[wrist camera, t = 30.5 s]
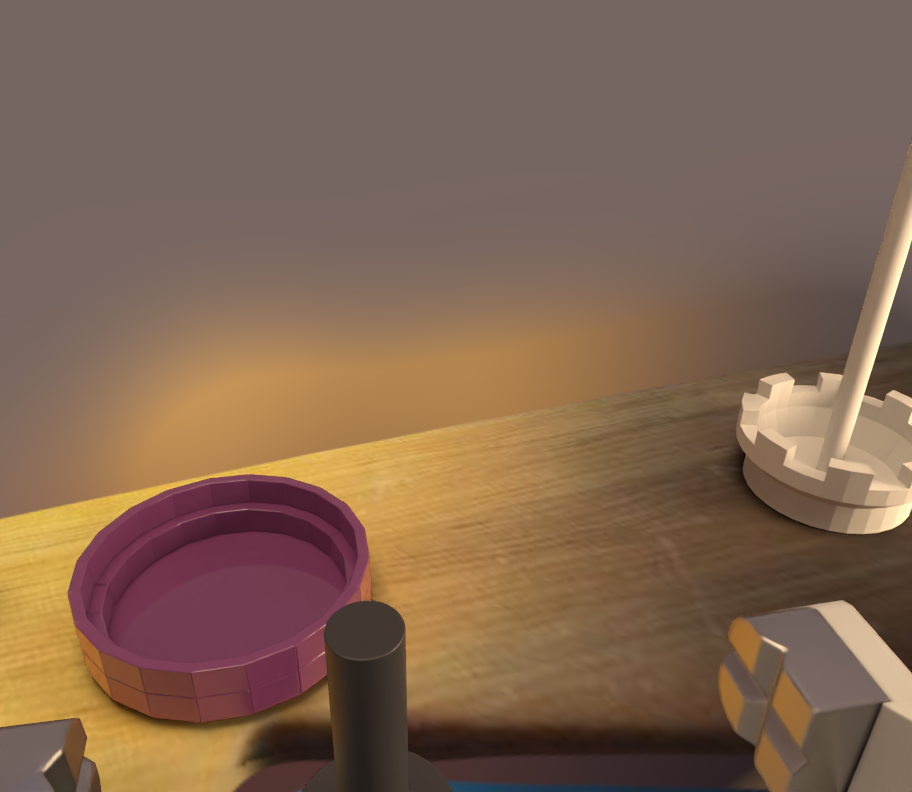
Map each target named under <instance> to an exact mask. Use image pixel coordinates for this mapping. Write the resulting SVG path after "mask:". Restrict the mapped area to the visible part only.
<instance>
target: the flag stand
mask: <svg viewBox="0 0 912 792" xmlns="http://www.w3.org/2000/svg"><path fill="white" fill-rule="evenodd" d="M911 240H912V139H911V143H910V146H909V150H908V153H907V157H906V160H905V163H904V167H903V170H902V174H901V177H900V181H899V184H898V187H897V191H896V194H895V198H894V201H893V205H892V208H891V211H890V215H889V218H888V222H887V225H886V229H885V232H884V236H883V239H882V243H881V246H880V250H879V253H878V256H877V260H876V263H875V267H874V270H873V274H872V277H871V280H870V284H869V287H868V291H867V294H866V298H865V301H864V305H863V308H862V312H861V315H860V318H859V322H858V325H857V329H856V332H855V336H854V339H853V343H852V346H851V350H850V353H849V356H848V360H847V363H846V367H845V370H844V374H843V375H838V374H830V373H821V372H820V373H819V377H818V380H817V384H816V386H804V385H796V386H793V384H794V380H795V379H793V378H792V377H791V376H789V375H788V374H787V373H782V374H777V375H772V376H769V377H766V378H763V379H760V381H759V385H758V389H757V394H755V395H752V394H749V393H744V396H743V399H742V403H741V408H740V412H739V417H738V421H737V426H736V436H737V440H738V442H739V444H740V446H741V448H742V450H743V451H744V452H745V454H746V456H745V460H744V464H743V474H744V478H745V480H746V482H747V484H748V486H749V487H750V488H751V490H752V491H753V492H754V493H755V495H757V496H758V497H759V498H760V499H761V500H762V501H763V502H764V503H766V504H767V505H769V506H770V507H772V508H773V509H775V510H776V511H778V512H779V513H781V514H783V515H785V516H787V517H789V518H791V519H793V520H796V521H799V522H801V523H804V524H807V525H809V526H812V527H816V528H820V529H824V530H828V531H834V532H840V533H847V534H869V533H879V532H883V531H886V530H890V529H893V528H894V527H896V526H898V525H900V524H902V523H903V522H904V521H905V520H906V519H907V518H908V516H909V513H910V511H911V508H912V398H910V397H908V396H906V395H903V394H901V393H899V392H897V391H895V390H893V391H891V392H890V393H888V394H886V397H885V400H884V402H883V401H880V400H878V399H875V398H872V397H869V396H865V395H864V393H865V390H866V386H867V383H868V380H869V377H870V373H871V370H872V367H873V364H874V360H875V357H876V354H877V351H878V347H879V344H880V341H881V338H882V334H883V331H884V328H885V324H886V322H887V318H888V315H889V312H890V309H891V305H892V302H893V299H894V296H895V292H896V289H897V286H898V283H899V279H900V276H901V273H902V270H903V266H904V263H905V259H906V257H907V253H908V250H909V247H910V244H911Z"/></svg>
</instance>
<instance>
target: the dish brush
mask: <svg viewBox="0 0 912 792" xmlns="http://www.w3.org/2000/svg"><path fill="white" fill-rule="evenodd" d="M324 645H325V656H326V667H327V679H328V690H329V701H330V712H331V723H332V734H333V746H334V757H335V759H334V760H332V761H330V762H329V763H327V764H326V765H325V766H324V767H322V768H321V769H320V770H319V771H318V772H317V773H316V774H315V775H314V776H313V777H312V778H311V779H310V780H309V781H308V783H307V784H306V785H305V787H304V788H303V790H302V792H453V791H452V789H451V787H450V785H449V784H448V782H447V780H446V779H445V777H444V776H443V775H442V774H441V773H440V771H439V770H438V769H437V768H436V767H434V766H433V765H432V764H431V763H430V762H428V761H427V760H425V759H424V758H422V757H420V756H418V755H417V754H415V753H412V752H409V751H408V737H407V687H406V637H405V623H404V620H403V618H402V617H401V615H400V614H399V613H398V612H397V611H396V610H395V609H394V608H392V607H391V606H389V605H387V604H384V603H381V602H377V601H358V602H354V603H350V604H348V605H345V606H343V607H341V608H340V609H338V610H337V611H336V612H334V613H333V614H332V615H331V617H330V618H329V619H328V621H327V623H326V625H325V628H324Z"/></svg>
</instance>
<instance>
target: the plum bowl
mask: <svg viewBox="0 0 912 792" xmlns="http://www.w3.org/2000/svg"><path fill="white" fill-rule="evenodd" d="M68 599H69V603H70V608H71V612H72V617H73V621H74V625H75V629H76V632H77V635H78V639H79V642H80V645H81V648H82V652H83V655H84V659H85V662H86V665H87V669H88V672H89V674H90V675H91V676H92V677H93V678H94V679H95V680H96V681H97V683H98V684H99V685H100V686H101V687H102V688H103V689H104V690H105V692H106V693H107V694H108V695H109V696H110V697H111V698H112V699H114V700H115V701H117V702H119V703H121V704H124V705H126V706H128V707H130V708H132V709H135V710H137V711H139V712H141V713H143V714H146V715H148V716H150V717H153V718H161V719H171V720H180V721H189V722H199V723H200V722H208V721H215V720H221V719H228V718H234V717H240V716H247V715H252V714H253V713H254V714H255V713H257V712H260V711H262V710H265V709H267V708H269V707H272V706H274V705H277V704H279V703H281V702H284V701H286V700H289V699H291V698H294V697H296V696H298V695H300V694H302V693H304V692H305V691H306V690H308V689H309V688H310V687H312V686H313V685H314V684H316V683H317V682H318V681H320V680H321V679H322V678H324V677H325V676H326V675H327V667H326V656H325V645H324V628H325V625H326V623H327V621H328V619H329V618H330V617H331V615H332V614H333V613H334V612H336V611H337V610H338V609H340V608H341V607H343V606H345V605H348V604H350V603H354V602H358V601H371V579H370V557H369V550H368V544H367V539H366V533H365V528H364V527H363V525H362V524H361V522H360V521H359V520H358V518H357V517H356V516H355V514H354V513H353V512H352V510H351V509H350V508H349V506H348V505H347V504H346V503H344V502H343V501H341V500H339V499H338V498H336V497H335V496H333V495H332V494H330V493H328V492H327V491H325V490H324V489H322V488H320V487H317V486H314V485H311V484H307V483H304V482H301V481H297V480H294V479H291V478H287V477H277V476H264V475H251V474H249V475H238V476H228V477H219V478H209V479H205V480H202V481H198V482H194V483H191V484H187V485H184V486H180V487H177V488H173V489H169V490H166V491H164V492H162V493H160V494H158V495H156V496H154V497H152V498H150V499H148V500H146V501H144V502H141V503H139V504H137V505H135V506H133V507H131V508H130V509H128V510H127V511H126V512H124V513H123V514H122V515H121V516H119V517H118V518H117V519H115V520H114V521H113V522H111V523H110V524H109V525H108V526H106V527H105V528H104V529H102V530H101V531H100V532H99V533H98V534H97V535H96V536H95V538H94V539H93V540H92V542H91V543H90V544H89V546H88V547H87V548H86V549H85V551H84V552H83V553H82V555H81V556H80V557H79V559H78V560H77V562H76V566H75V569H74V573H73V576H72V580H71V583H70V587H69V590H68Z"/></svg>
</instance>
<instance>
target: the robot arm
mask: <svg viewBox="0 0 912 792" xmlns="http://www.w3.org/2000/svg"><path fill="white" fill-rule="evenodd" d="M727 638H728V640H729V641H730V643H731V644H732V646H733V647H734V649H733V650H732V651H731V652H730V653H729V654H728V655H727V657H726V658H725V659H724V660H723V661H722V662H721V666H720V671H719V676H718V686H719V693H720V701H721V703H722V706H723V709H724V712H725V714H726V717H727V719H728V720H729V722H730V724H731V726H732V728H733V729H734V731H735V733H736V734H737V735H739V736H740V737H742V738H743V739H745V740H746V741H748V742H749V743H751V744H752V745H754V746H755V747H756V748H755V756H754V765H755V767H756V769H757V770H758V772H759V774H760V775H761V777H762V779H763V780H764V782H765V784H766V785H767V787H768V789H769V790H770V792H912V673H911V672H910V671H909V670H908V668H907V667H906V666H905V665H904V664H903V663H902V662H901V660H900V659H899V658H898V657H897V656H896V655H895V654H894V652H893V651H892V650H891V649H890V648H889V647H888V646H887V644H886V643H885V642H884V641H883V640H882V639H881V638H880V636H879V635H878V634H877V633H876V632H875V631H874V630H873V628H872V627H871V626H870V625H869V624H868V623H867V622H866V620H865V619H864V618H863V617H862V616H861V615H860V614H859V613H858V611H857V610H856V609H855V608H854V607H853V606H852V605H850V604H848V603H847V602H845V601H843V600H841V601H834V602H828V603H821V604H815V605H808V606H806V607H804V606H798V607H792V608H786V609H780V610H774V611H768V612H762V613H756V614H750V615H744V616H738V617H737V618H736V619H735V620H734V621H733V622H732V623H731V626H730V630H729V634H728V637H727ZM86 740H87V736H86V733H85V731H84V728H83V725H82V723H81V720H80V719H79V718H71V719H63V720H55V721H47V722H39V723H31V724H23V725H16V726H8V727H0V792H101V785H100V778H99V774H98V771H97V767H96V764H95V762H93V761H91V760H89V759H88V758H86V757H84V756H83V755H84V750H85V745H86Z"/></svg>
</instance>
